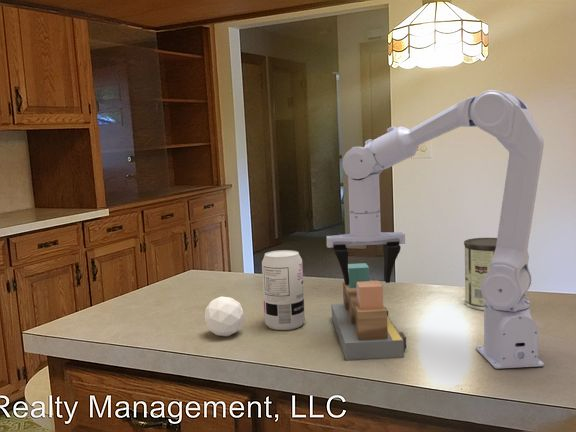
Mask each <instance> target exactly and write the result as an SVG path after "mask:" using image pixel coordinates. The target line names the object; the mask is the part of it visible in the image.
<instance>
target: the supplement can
mask: <svg viewBox="0 0 576 432" xmlns="http://www.w3.org/2000/svg"><path fill="white" fill-rule="evenodd" d="M303 270H304V269H303V259H302V257H301V255H300V252H299V251H297V250H289V249H288V250H287V249H283V250H272V251H268V252H265V253H264V256H263V259H262V261H261V272H262V273H261V275H262V292H263V294H262V295H263V309H264V311H263V312H264V313H263V314H264V315H263V316H264V323H265V325H266V326H267V327H268V328H269V329H271V330H276V331H291V330H296V329H298V328H300V327H302V325H303V324H304V323H305V321H306V320H305V319H306V316H305V295H304V293H305V291H304V271H303Z"/></svg>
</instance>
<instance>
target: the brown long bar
mask: <svg viewBox="0 0 576 432" xmlns="http://www.w3.org/2000/svg"><path fill="white" fill-rule="evenodd" d="M342 293H343V294H342V297H343V298H342V299H343V304H344V307H345V309H346V310H349V319H350V321H351V323H352V324H356V335H357V337H358V340H359V341H360V340H379V339H388V330H387V310H388V309H387V308H386V309H387V310H386V309H385V307H386V306H385V305H383V309H367V310H360V308H359V306H358V304H357V288H349V286H348V285H345V283H344V281H342Z"/></svg>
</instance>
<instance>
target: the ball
mask: <svg viewBox="0 0 576 432" xmlns="http://www.w3.org/2000/svg"><path fill="white" fill-rule="evenodd" d="M244 314H245V313H244V310H243V308H242V305H241V303H240V302H239V301H237V300H236V299H234V298H233V297H230V296H229V297H228V296H219V297H217V298H214V299H212V300H211V301H210V302H209V303H208V305H207V307H206V308H205V310H204V320H205V324H206V326H207V328H208V330H209V331H210V332H211V333H213V334H214V335H216V336H220V337H229V336H231V335H233V334H235V333H237V332H238V331H239V330H240V328H241V327H242V325H243V324H244Z"/></svg>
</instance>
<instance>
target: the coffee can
mask: <svg viewBox="0 0 576 432" xmlns="http://www.w3.org/2000/svg"><path fill="white" fill-rule="evenodd" d="M496 243H497V237H475V238H468V239H465V240H464V242H463V245H464V287H465V289H464V292H465V293H464V294H465V295H464V296H465V297H464V298H465V299H464V305H465V306H467V307H468V308H471V309H475V310H479V311H484V300H485V299H484V298H483V296H482V293H481V284H482V281H483V279H484V278H485V277H486V275H487V274H488V272H489V269H490V264H491V260H492V257H493V254H494V252H495V249H496Z"/></svg>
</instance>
